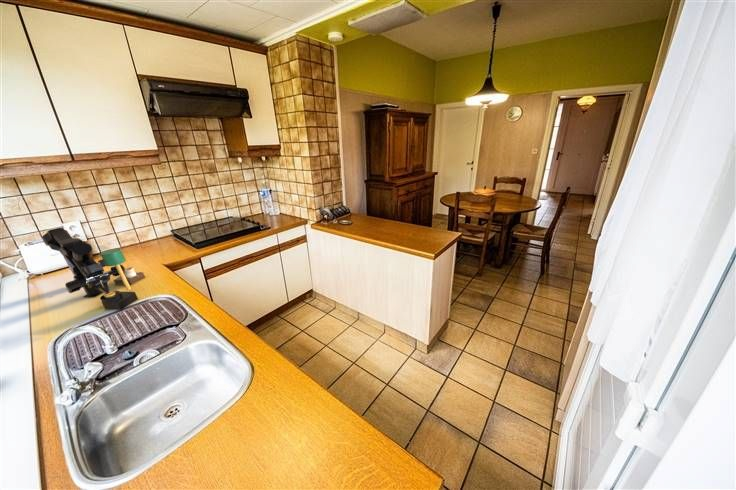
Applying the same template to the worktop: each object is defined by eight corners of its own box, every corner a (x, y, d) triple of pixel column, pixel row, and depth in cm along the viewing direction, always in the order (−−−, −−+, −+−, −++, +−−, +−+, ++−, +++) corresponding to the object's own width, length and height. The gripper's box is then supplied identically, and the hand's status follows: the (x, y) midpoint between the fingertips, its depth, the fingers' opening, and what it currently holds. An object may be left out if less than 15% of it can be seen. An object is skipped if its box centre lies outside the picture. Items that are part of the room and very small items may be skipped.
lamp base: (102, 310, 114) (95, 299, 112) (121, 298, 122) (115, 287, 120) (120, 311, 114) (114, 299, 111) (138, 299, 122) (132, 288, 119)
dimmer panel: (115, 285, 135) (112, 280, 134) (130, 276, 143) (128, 271, 141) (133, 285, 134) (130, 280, 132) (147, 276, 142) (145, 271, 140)
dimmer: (123, 278, 135) (119, 270, 133) (131, 273, 139) (127, 266, 137) (130, 278, 135) (127, 270, 133) (138, 273, 139) (135, 266, 137)
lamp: (115, 293, 116) (95, 254, 108) (129, 285, 122) (111, 248, 114) (128, 293, 115) (109, 254, 108) (141, 285, 121) (124, 248, 114)
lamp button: (104, 301, 114) (101, 296, 113) (112, 296, 117) (109, 291, 116) (111, 301, 114) (109, 296, 113) (119, 296, 117) (117, 291, 116)
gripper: (54, 266, 103) (77, 297, 103) (114, 248, 118) (135, 275, 118) (58, 278, 110) (80, 307, 110) (114, 259, 125) (133, 285, 124)
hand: (108, 293), depth 115 cm, fingers closed, pressing on lamp button
